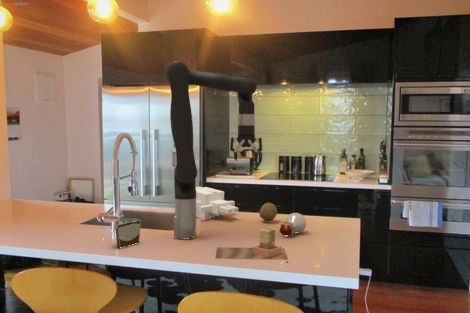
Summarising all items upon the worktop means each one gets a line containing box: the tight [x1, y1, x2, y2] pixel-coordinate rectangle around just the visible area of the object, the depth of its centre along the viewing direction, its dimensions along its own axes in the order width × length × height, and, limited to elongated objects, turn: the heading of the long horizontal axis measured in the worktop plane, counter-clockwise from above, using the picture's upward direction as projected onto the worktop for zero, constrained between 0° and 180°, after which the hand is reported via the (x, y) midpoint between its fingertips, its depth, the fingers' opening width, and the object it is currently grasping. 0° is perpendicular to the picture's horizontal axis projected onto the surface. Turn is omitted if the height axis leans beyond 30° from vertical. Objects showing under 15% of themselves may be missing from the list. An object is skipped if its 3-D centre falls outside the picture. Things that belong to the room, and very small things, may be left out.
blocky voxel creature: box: [196, 186, 239, 219], centre depth 228 cm, size 15×25×28 cm
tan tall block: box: [259, 227, 276, 250], centre depth 160 cm, size 4×4×9 cm
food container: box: [113, 218, 143, 249], centre depth 175 cm, size 12×6×10 cm, turn 141°
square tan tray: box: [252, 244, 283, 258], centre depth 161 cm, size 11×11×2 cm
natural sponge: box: [259, 202, 278, 222], centre depth 218 cm, size 9×9×10 cm
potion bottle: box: [278, 212, 307, 237], centre depth 195 cm, size 9×10×15 cm
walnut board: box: [215, 246, 289, 261], centre depth 161 cm, size 26×14×2 cm, turn 89°
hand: (245, 160), depth 193 cm, fingers open, 8 cm apart
